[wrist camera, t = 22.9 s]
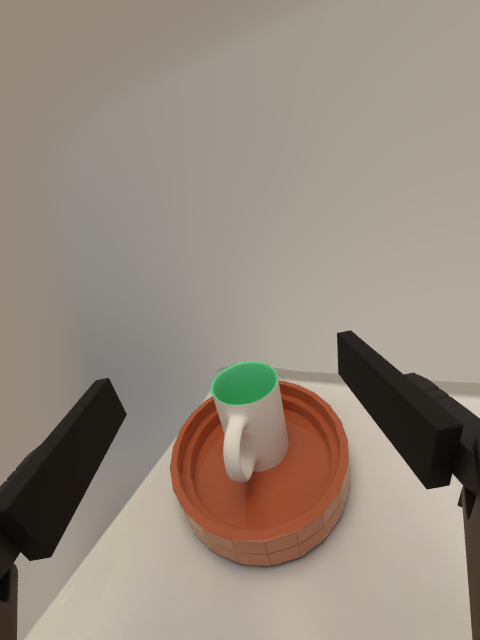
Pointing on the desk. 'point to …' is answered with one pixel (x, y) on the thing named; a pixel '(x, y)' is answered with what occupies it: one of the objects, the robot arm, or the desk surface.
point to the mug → (250, 418)
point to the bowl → (264, 484)
